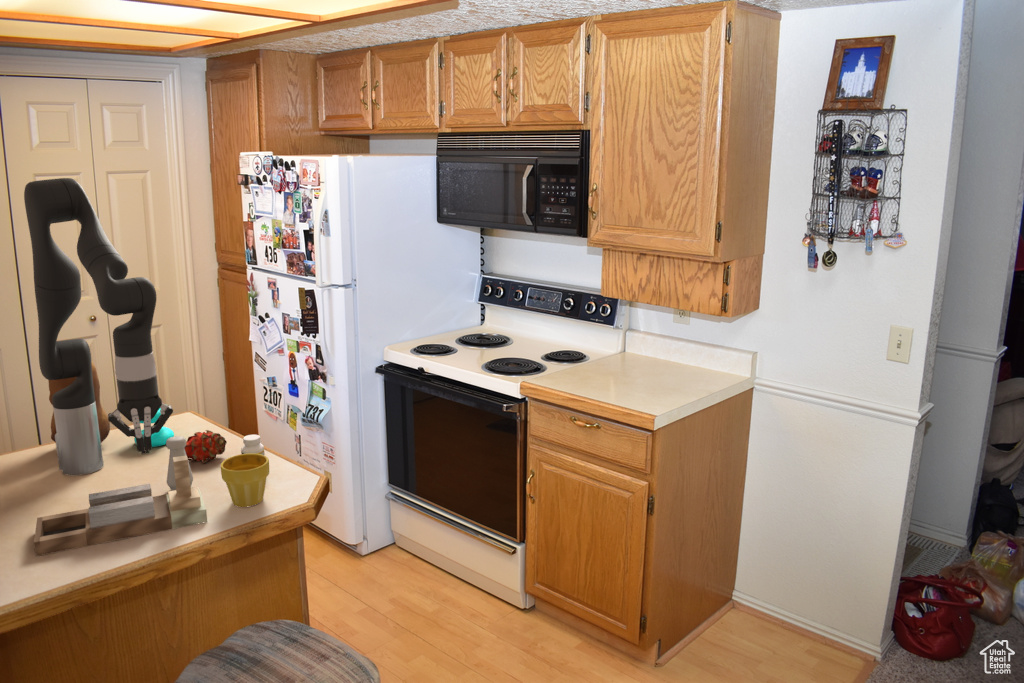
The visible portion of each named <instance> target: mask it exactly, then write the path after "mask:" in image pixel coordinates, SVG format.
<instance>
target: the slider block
mask: <svg viewBox="0 0 1024 683" xmlns="http://www.w3.org/2000/svg"><path fill="white" fill-rule="evenodd" d="M188 462H189V460H188V458H187V455H185V456H179V457H173V464H174V473H175V483H176V490H173V491H172V490H168V491H167V492H168V493H167V494H169V502H170V508H171V511H177V510H182V509H188V508H193V507H199V506H201V501H200V495H199V491H198V489H199V487H198V486H192V485H191V486H190V476H189V466H188Z"/></svg>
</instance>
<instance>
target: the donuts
mask: <svg viewBox="0 0 1024 683" xmlns="http://www.w3.org/2000/svg"><path fill="white" fill-rule="evenodd" d="M160 410H161V408H160V409H159V410H158V412H157V413H156V415H155V416H154V418H152V419H151V424H154V423H155V422H156V421H157V419H158V418H159V416H160V415H161V413H160ZM140 424H143V425H144V421H140ZM141 432H142V435H143V434H144V428H143V429H141ZM174 436H175V433H174V431H173V429H171V428H169V427H166V426H163V427H162V428H161V430H160V431H159V432H158V433H154V434H152V435H151V443H152V448H157V447H161V446H164V445H166V441H167V440H168V439H169V438H171V437H174ZM143 439H144V438H143ZM134 443H135V445H137V443H136V438H135V437H134Z"/></svg>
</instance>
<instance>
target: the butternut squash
mask: <svg viewBox="0 0 1024 683" xmlns="http://www.w3.org/2000/svg"><path fill="white" fill-rule="evenodd" d="M98 375H99V374H98V372H97V368H96V366H95V364H94V363H93V362H92V377H93V386H94V395H95V402H96V410H97V417H98V425H99V433H100V441H101V444H102V443H103V442H104V441H105V440H106V439H107V438H108V436H109V434H110V432H111V431H110V430H111V424H110V423H111V422H109V421H108V414H107V412H106V411H105V409H104V408H103V406H102V404H101V399H100V398H101V396H100V395H101V394H100V393H101V385H100V380H99V376H98ZM76 378H77V377H72V378H65V379H59V380H48V379H47V381H48V391H49V397H48V400H49V402H50V404H51V406H53V404H52V396H53V395H54V394H55V393H56V392H58V391H60V390H62V389H64V388H66V387H67V386H69V385H70V384H72V383H73V382H74V381H75V380H76ZM52 411H53V410H52ZM50 431H51V434H50V439H51V440H52V441H53V442H54V443H56V441H55V434H56V433H57V431H56V424H55V418H54V411H53V412H52V416H51V422H50Z"/></svg>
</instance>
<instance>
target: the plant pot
mask: <svg viewBox="0 0 1024 683" xmlns="http://www.w3.org/2000/svg"><path fill="white" fill-rule="evenodd" d="M220 474H221V478H222V481H223V482H224V483H225V485H226V487H227V489H228V493H229V496H230V498H231V499H230V500H231V502H232V504H233V506H235V507H237V506H238V508H248V507H247V506H251V507H253V506H252V505H254V506H256V505H255V504H257V505H259V504H260V503H261V502H263V500H264V495H265V489H266V482H267V477H268V476H269V474H270V460H269V457H268V456H267V455H265V456H264V455H262V454H255V453H248V454H236V455H232V456H229V457H228V458H226V459H224V460H223V461H222V462H221V463H220ZM258 503H259V504H258Z"/></svg>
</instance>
